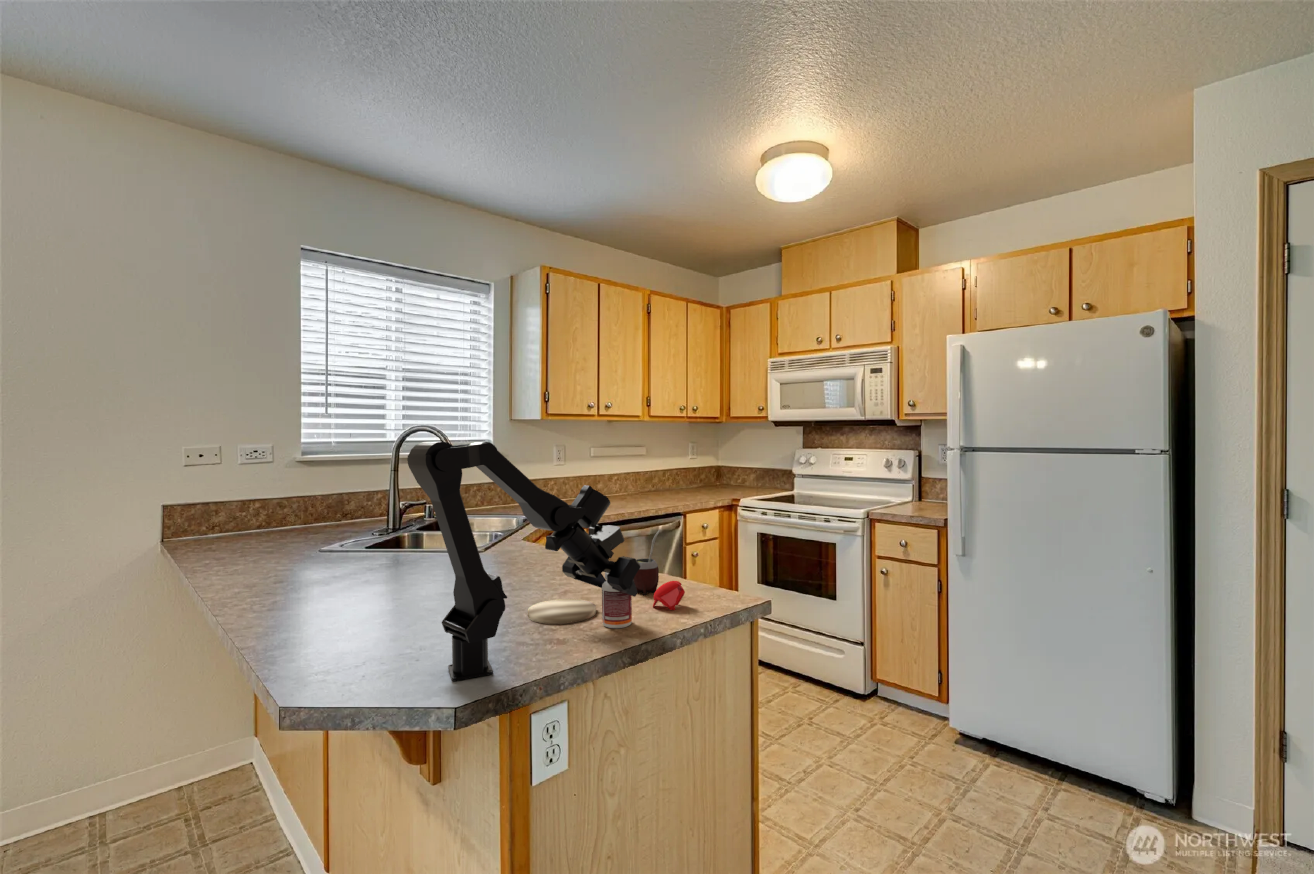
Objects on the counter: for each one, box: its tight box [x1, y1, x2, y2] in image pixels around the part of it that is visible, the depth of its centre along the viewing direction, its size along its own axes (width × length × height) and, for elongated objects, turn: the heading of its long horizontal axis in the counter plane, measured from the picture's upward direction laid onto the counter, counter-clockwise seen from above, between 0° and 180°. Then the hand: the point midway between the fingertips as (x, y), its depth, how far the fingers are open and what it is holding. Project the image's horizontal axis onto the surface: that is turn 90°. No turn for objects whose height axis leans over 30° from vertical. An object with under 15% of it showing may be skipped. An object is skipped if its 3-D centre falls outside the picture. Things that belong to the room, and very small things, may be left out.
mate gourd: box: [633, 529, 661, 596], centre depth 149 cm, size 8×8×15 cm
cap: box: [652, 580, 686, 611], centre depth 135 cm, size 8×6×6 cm
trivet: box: [527, 598, 597, 625], centre depth 131 cm, size 15×15×1 cm
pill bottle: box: [601, 572, 633, 629], centre depth 123 cm, size 6×6×11 cm
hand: (621, 591), depth 124 cm, fingers open, 8 cm apart
